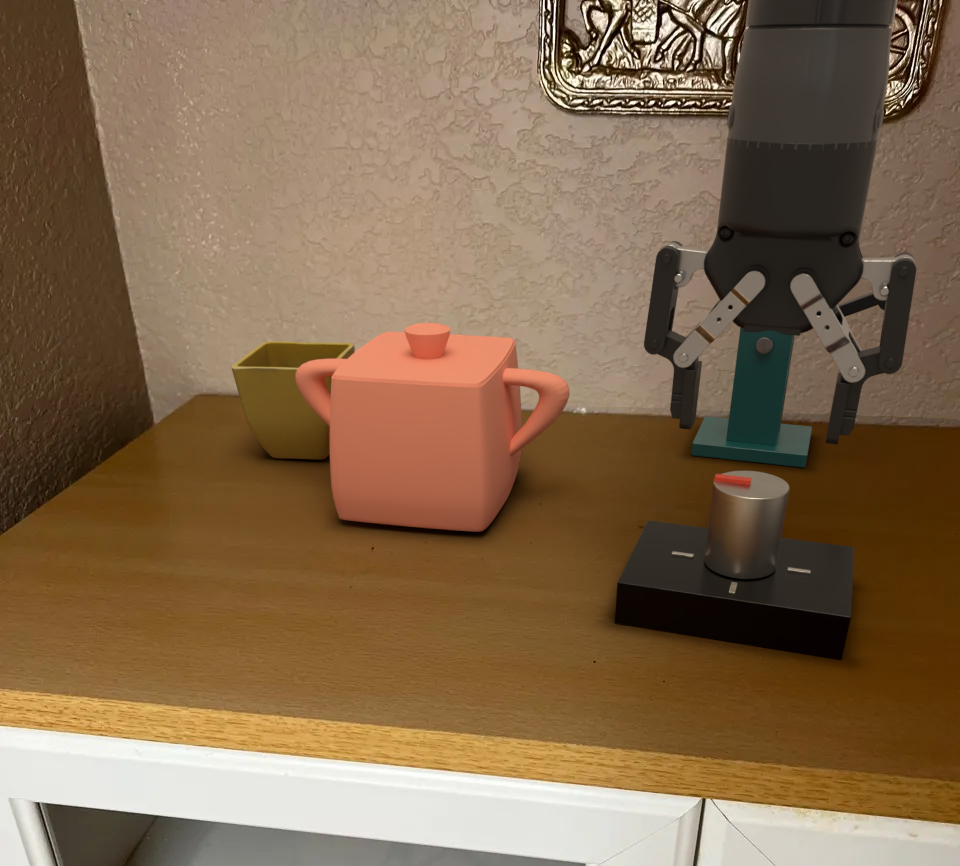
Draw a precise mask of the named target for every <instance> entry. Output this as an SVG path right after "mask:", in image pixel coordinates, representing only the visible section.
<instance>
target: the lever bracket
mask: <svg viewBox="0 0 960 866" xmlns="http://www.w3.org/2000/svg"><path fill="white" fill-rule="evenodd" d="M739 328H740V327H739ZM743 330H744V329H743V328H740V329H739V336H738V343H737V351H736V358H735V359H736V360H735V367H734V368H735V369H734V375H733V382H732V390H731V398H730V407H729V414H728V418H727V417H720V416H719V417H717V416H709V415H708V416H707V415H705V416H704V418H703V420H702V422H701V423H700V426H699V428H698V430H697V433H696V435H695V438H694V439H693V441H692V445H691V453H690V455H691V456H694V457H703V458H712V459H722V460H732V461H740V462H749V463H758V464H768V465H777V466H786V467H795V468H806V465H807V461H808V454H809V447H810V443H811V438H812V432H813V426H811V425H801V424H800V425H799V424H790V423H782V421H783V414H784V408H785V402H786V395H787V389H788V383H789V376H790V369H791V364H792V357H793V350H794V344H795V338H796V335H785V334H782V333H779V332H777V331H774V330H768V331H763V332H757V333H756V332H743Z"/></svg>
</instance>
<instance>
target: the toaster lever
mask: <svg viewBox="0 0 960 866" xmlns="http://www.w3.org/2000/svg"><path fill="white" fill-rule="evenodd" d="M885 303H886V301H882V300H878V299H877V298H875V297H874V295H873V291H870V292H868V293H866V294H865V293H864V294H863V295H860V296H857V297H854V298H851V299H849V300H846V301H844V302H840V303H838V304H837V305H838V307H839V308H840V310H841V312H842V314H843V316H844V317H845V318H846V317H849V316H851V315H854V314H857V313H859V312H862V311H865V310H869V309H870V308H874V307H875V306H876V307H877V306H878V307H879V308H880V309H881V310H882V311H884V310H885Z"/></svg>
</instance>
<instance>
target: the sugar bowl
mask: <svg viewBox="0 0 960 866" xmlns="http://www.w3.org/2000/svg"><path fill="white" fill-rule="evenodd" d="M451 329H452V328H451V327H450V326H448V325H446V324H443V323H439V322H419V323H414V324H411V325H409V326H406V327H405V328H404V331H385V332H383V333H381V334H378V335H377V336H375V337H374V338H372V339H371V340H369V341H368V342H367V343H365V344H364V345H362V346H361V347H360V348H358V349H357V350H355V353H353V354H352V355H351V356H350V357H349V358H348V359H317V360H312V361H308V362H306V363H304V364H302V365H301V366H300V367H299V368H298V369H297V371H296V374H295V377H296V383H297V386H298V389H299V391H300V392H301V394H302V396H303V398H304V399H305V401H306V402H307V403H308V405H309V406H310V407H311V408H312V409H313V410H314V411H315V412H316V413H317V414H318V416H320V417H321V418H322V419H323V420H324V421H325V422H326V423H327V424H328V425H329V426H330V454H329V469H330V470H329V471H330V485H331V493H332V498H333V503H334V506H335V510H336V514H337V516H338V519H340V520H343V521H350V522H360V523H370V524H378V525H379V524H380V525H388V526H389V525H390V526H399V527H400V526H401V527H409V528H411V527H412V528H421V529H435V530H447V531H461V532H476V533H477V532H478V533H479V532H483V531H484V530H486V529H487V528H488V527H489V526H490V525H491V523H493V521H494V519H495V518H496V517H497V515H498V514H499V512H500V511H501V510H502V508H503V506H504V505H505V503H506V502H507V500H508V498H509V496H510V494H511V491H512V489H513V486H514V484H515V481H516V479H517V475H518V470H519V466H520V462H521V456H522V449H523V448H525V447H526V446H527V445H529V444H530V443H532V442H533V441H534V440H535V439H537V438H538V437H539V436H540V435H542V434H543V433H544V432H545V431H546V430H547V429H548V428H549V427H551V425H553V424H554V423H555V421H557V419H558V418H559V417H560V416H561V414H562V413H563V411H564V409H565V408H566V406H567V404H568V401H569V398H570V386H569V384H568V382H567V381H566V380H565V379H564V378H563V377H560V376H558V374H554V373H551V372H548V371H542V370H538V369H529V368H519V363H518V362H519V361H518V351H517V344H516V340H515V339H514V338H513V337H506V336H492V335H491V336H490V335H475V334H474V335H472V334H457V333H455V334H453V333H451ZM331 375H332V379H331V394H330V393H329V391H328V389H327V387H326V384H325V378H326V377H328V376H331ZM521 387H524V388H528V389H531V390H534V391H536V392H537V394H538V401H537V404H536V406H535V407H534V409H533V411H532V412H531V414H530V415H529V416H528V419H527V420H526V421H525V423H524V424H522V422H523V421H522V419H523V418H522V398H521V397H522V395H521Z"/></svg>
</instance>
